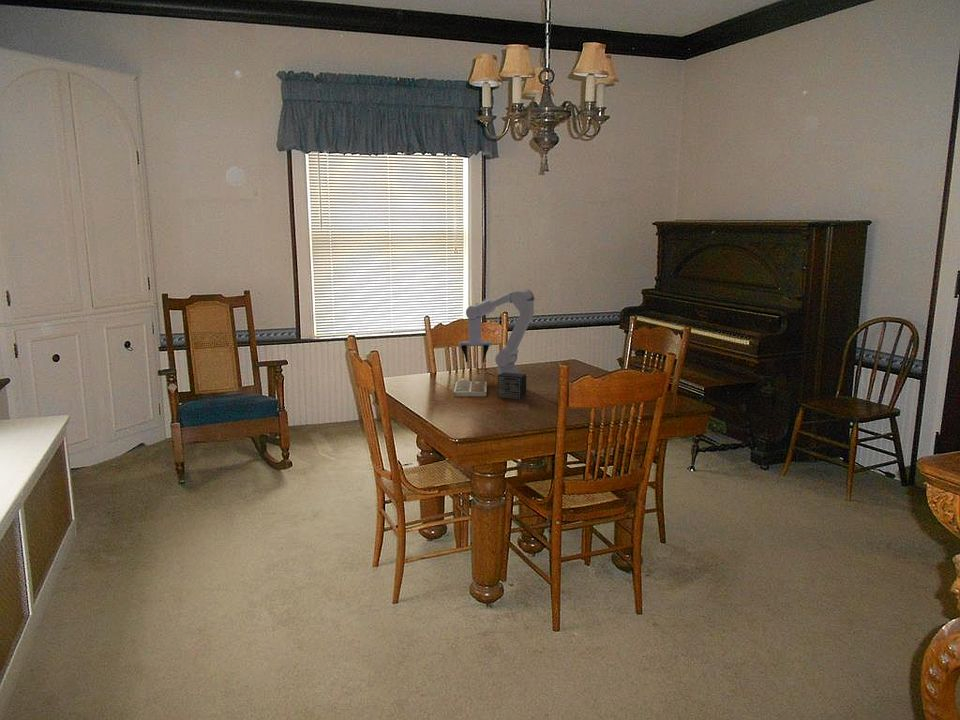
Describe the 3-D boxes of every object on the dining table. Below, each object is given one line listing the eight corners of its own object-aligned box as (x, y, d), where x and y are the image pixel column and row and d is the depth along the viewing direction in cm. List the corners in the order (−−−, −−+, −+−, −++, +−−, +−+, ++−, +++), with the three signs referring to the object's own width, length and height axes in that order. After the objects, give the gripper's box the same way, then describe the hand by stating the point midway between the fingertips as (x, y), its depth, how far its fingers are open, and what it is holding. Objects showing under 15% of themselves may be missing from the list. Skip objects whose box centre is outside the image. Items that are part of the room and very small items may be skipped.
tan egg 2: (483, 392, 302) (482, 380, 301) (482, 395, 298) (482, 382, 297) (473, 392, 302) (472, 380, 301) (472, 395, 298) (472, 382, 297)
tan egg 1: (483, 385, 315) (483, 374, 314) (483, 388, 311) (483, 376, 310) (473, 386, 315) (473, 374, 314) (473, 388, 311) (473, 376, 310)
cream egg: (468, 389, 309) (468, 377, 308) (468, 391, 305) (468, 379, 304) (458, 389, 309) (458, 377, 308) (458, 391, 304) (458, 379, 303)
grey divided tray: (486, 387, 316) (486, 381, 316) (486, 398, 297) (486, 391, 296) (456, 387, 317) (455, 381, 316) (453, 398, 297) (453, 392, 297)
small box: (527, 398, 297) (527, 373, 295) (521, 402, 291) (521, 376, 289) (503, 396, 301) (503, 371, 299) (497, 399, 295) (497, 374, 293)
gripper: (491, 330, 326) (491, 360, 329) (459, 330, 326) (459, 360, 329) (491, 333, 319) (491, 363, 322) (458, 333, 319) (458, 363, 322)
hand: (475, 361), depth 325 cm, fingers open, 7 cm apart
